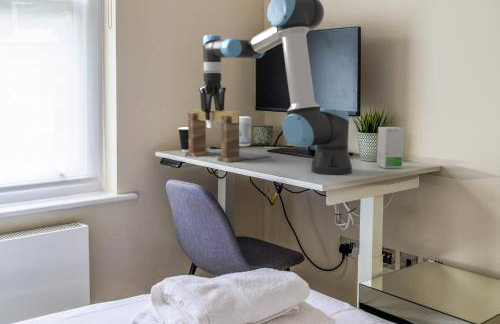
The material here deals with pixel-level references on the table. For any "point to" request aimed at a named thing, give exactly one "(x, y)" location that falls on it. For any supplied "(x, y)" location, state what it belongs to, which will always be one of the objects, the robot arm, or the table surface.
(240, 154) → the charcoal rubber mat
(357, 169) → the table surface
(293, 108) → the robot arm
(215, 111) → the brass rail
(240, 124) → the supplement tub
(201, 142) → the walnut rail stand
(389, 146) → the skincare box
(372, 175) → the table surface
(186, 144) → the dixie cup
